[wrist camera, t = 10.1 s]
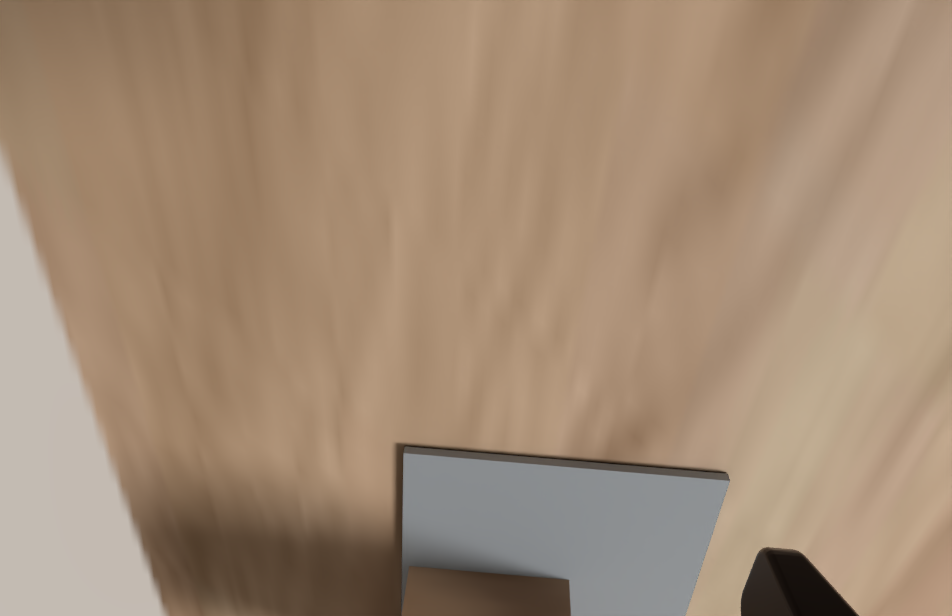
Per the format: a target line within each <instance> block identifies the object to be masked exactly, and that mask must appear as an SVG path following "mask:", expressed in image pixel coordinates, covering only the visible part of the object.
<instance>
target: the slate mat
mask: <svg viewBox="0 0 952 616" xmlns="http://www.w3.org/2000/svg"><path fill="white" fill-rule="evenodd" d="M729 482H730V479H729V476H728V474H724V473H713V472H701V471H689V470H677V469H665V468H654V467H642V466H630V465H618V464H606V463H595V462H583V461H571V460H559V459H547V458H536V457H524V456H512V455H500V454H488V453H477V452H465V451H453V450H441V449H430V448H418V447H406V446H405V448H404V453H403V526H402V599H401V615H402V609H403V603H404V596H405V590H406V583H407V577H408V571H409V566H415V567H427V568H438V569H450V570H461V571H473V572H484V573H496V574H507V575H519V576H530V577H542V578H553V579H565V580H569V585H570V605H571V616H685V615H686V612H687V609H688V606H689V603H690V600H691V597H692V594H693V591H694V588H695V585H696V582H697V579H698V576H699V573H700V570H701V567H702V564H703V561H704V558H705V555H706V552H707V549H708V546H709V543H710V540H711V537H712V534H713V530H714V527H715V524H716V521H717V518H718V515H719V512H720V509H721V506H722V503H723V500H724V497H725V494H726V491H727V488H728V485H729Z"/></svg>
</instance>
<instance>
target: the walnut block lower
mask: <svg viewBox="0 0 952 616" xmlns="http://www.w3.org/2000/svg"><path fill="white" fill-rule="evenodd" d="M401 616H571V605H570V585H569V580H565V579H553V578H542V577H530V576H519V575H507V574H496V573H484V572H473V571H461V570H450V569H438V568H427V567H415V566H409V571H408V577H407V583H406V590H405V596H404V603H403V609H402V615H401Z"/></svg>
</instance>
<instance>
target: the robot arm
mask: <svg viewBox="0 0 952 616" xmlns="http://www.w3.org/2000/svg"><path fill="white" fill-rule="evenodd" d="M741 616H859V615H858V614H857V613H856V612H855V611H854V610H853V608H852V607H851V606H850V605H849V604H848V603H847V602H846V601H845V600H844V598H843V597H842V596H841V595H840V594H839V593H838V592H837V591H836V590H835V589H834V587H833V586H832V585H831V584H830V583H829V582H828V581H827V580H826V579H825V577H824V576H823V575H822V574H821V573H820V572H819V571H818V570H817V569H816V567H815V566H814V565H813V564H812V563H811V562H810V561H809V560H808V559H807V558H806V557H805V556H804V555H803V554H802V553H800V552H799V551H797V550H793V549H782V548H770V547H766V548H763V549H761V550H760V551H759V553H758V554H757V556H756V559H755V562H754V564H753V567H752V569H751V572H750V574H749V577H748V580H747V582H746V585H745V587H744V590H743V593H742V598H741Z"/></svg>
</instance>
